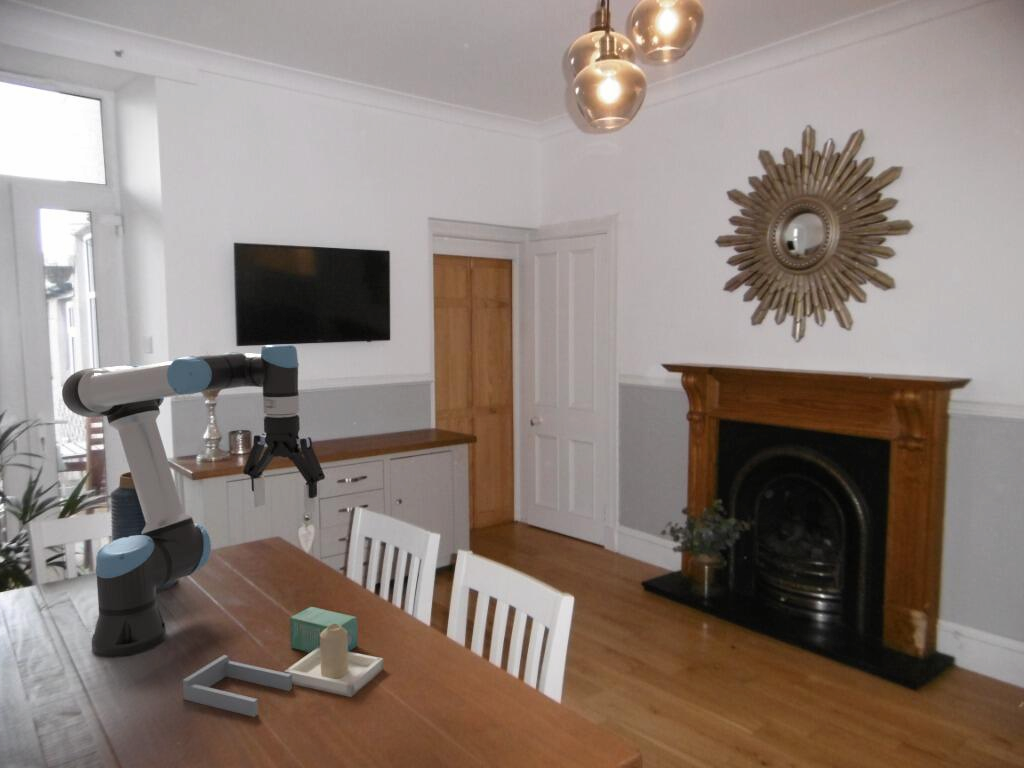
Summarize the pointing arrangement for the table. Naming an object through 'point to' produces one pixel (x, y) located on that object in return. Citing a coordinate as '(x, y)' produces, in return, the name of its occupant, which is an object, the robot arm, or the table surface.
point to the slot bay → (217, 670)
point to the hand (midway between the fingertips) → (284, 508)
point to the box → (320, 628)
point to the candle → (334, 652)
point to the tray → (348, 685)
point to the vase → (128, 514)
